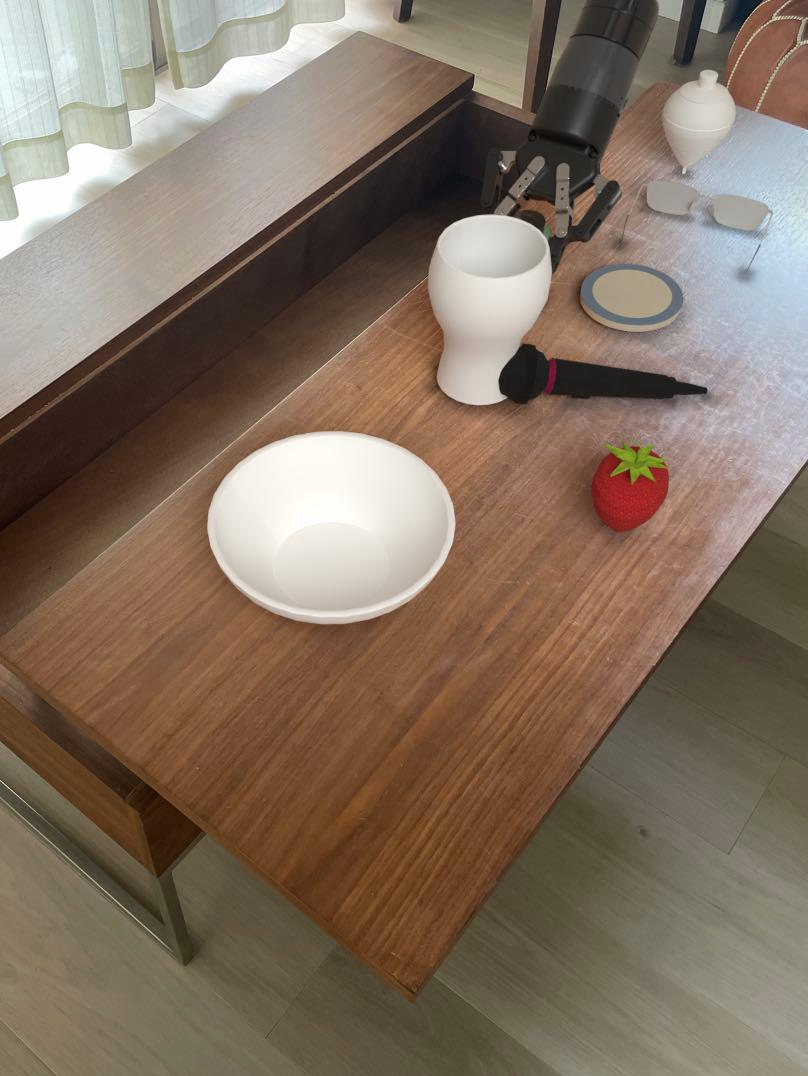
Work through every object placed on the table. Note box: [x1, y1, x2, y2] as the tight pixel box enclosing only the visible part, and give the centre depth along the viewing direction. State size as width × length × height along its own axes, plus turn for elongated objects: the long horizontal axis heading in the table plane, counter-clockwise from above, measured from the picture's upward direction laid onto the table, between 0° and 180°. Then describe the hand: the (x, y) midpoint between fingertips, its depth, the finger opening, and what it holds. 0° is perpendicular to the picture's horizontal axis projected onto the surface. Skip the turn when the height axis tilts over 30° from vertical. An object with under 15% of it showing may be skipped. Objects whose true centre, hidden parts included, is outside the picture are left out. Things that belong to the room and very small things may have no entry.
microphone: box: [498, 342, 709, 405], centre depth 102 cm, size 6×6×20 cm
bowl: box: [206, 430, 456, 625], centre depth 89 cm, size 20×20×7 cm
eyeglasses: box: [620, 179, 774, 274], centre depth 117 cm, size 14×8×4 cm, turn 62°
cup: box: [427, 214, 553, 406], centre depth 100 cm, size 11×11×15 cm
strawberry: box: [590, 438, 670, 533], centre depth 89 cm, size 6×8×10 cm
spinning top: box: [661, 69, 737, 175], centre depth 122 cm, size 8×8×12 cm
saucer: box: [579, 263, 684, 333], centre depth 111 cm, size 10×10×2 cm
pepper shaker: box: [513, 209, 553, 241], centre depth 110 cm, size 5×5×10 cm
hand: (515, 267), depth 109 cm, fingers closed on pepper shaker, 5 cm apart
